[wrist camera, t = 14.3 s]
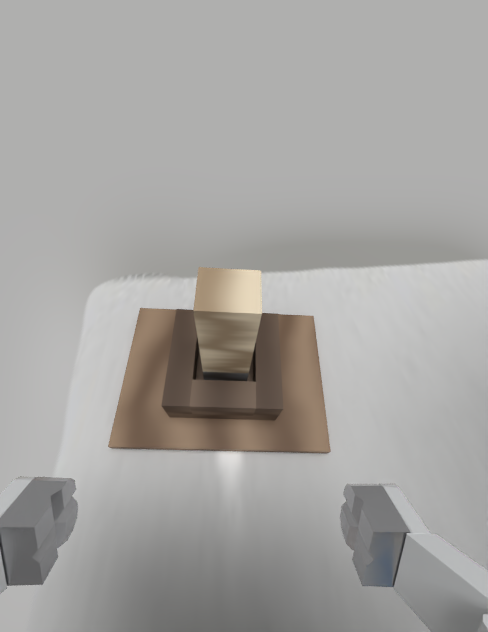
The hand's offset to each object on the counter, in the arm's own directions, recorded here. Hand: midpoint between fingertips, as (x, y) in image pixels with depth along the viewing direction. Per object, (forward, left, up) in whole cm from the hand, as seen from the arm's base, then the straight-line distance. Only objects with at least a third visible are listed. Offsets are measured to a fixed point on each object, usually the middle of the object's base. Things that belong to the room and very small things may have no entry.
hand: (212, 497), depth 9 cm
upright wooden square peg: (0, -12, -20) cm, 23 cm away
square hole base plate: (0, -12, -23) cm, 26 cm away
